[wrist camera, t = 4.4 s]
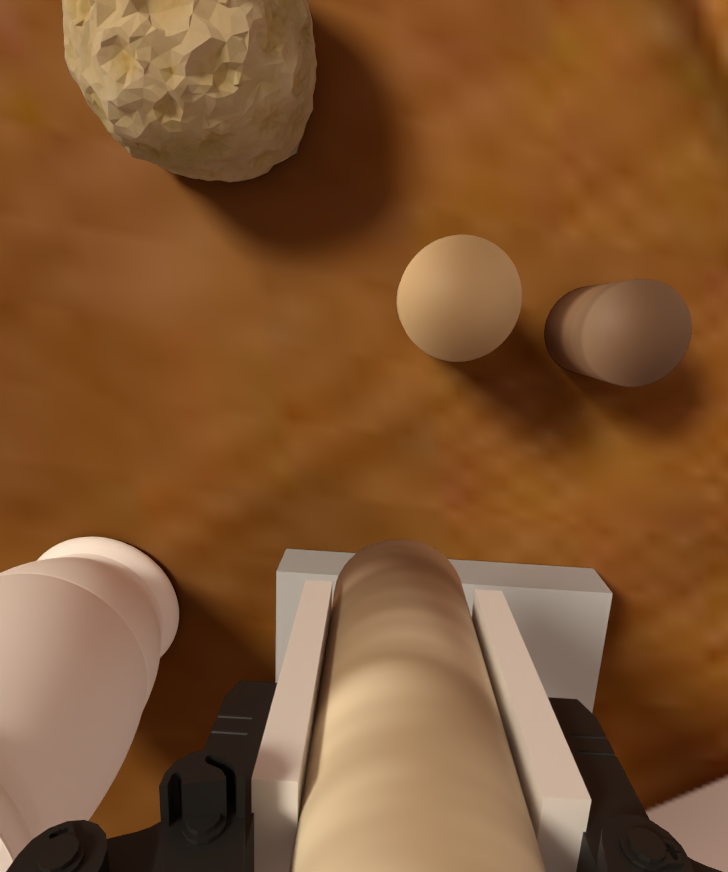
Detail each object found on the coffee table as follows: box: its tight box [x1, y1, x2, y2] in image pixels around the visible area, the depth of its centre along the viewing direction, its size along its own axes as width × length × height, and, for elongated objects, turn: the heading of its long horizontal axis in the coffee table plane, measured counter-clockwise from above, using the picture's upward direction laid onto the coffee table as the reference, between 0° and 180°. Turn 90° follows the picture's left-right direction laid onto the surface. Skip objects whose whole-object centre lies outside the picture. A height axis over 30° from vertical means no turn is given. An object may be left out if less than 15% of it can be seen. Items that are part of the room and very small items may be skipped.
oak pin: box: [396, 235, 522, 362], centre depth 22 cm, size 4×4×8 cm
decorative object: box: [62, 0, 317, 182], centre depth 21 cm, size 9×10×10 cm
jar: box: [0, 537, 179, 872], centre depth 23 cm, size 11×10×15 cm
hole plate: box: [276, 549, 613, 713], centre depth 29 cm, size 16×14×2 cm
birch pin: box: [289, 539, 546, 872], centre depth 11 cm, size 4×4×12 cm
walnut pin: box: [544, 279, 692, 387], centre depth 23 cm, size 4×4×5 cm
